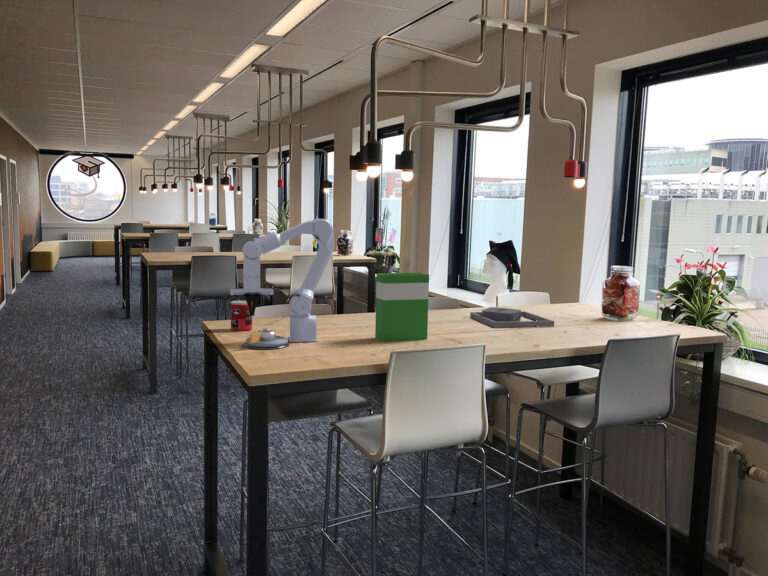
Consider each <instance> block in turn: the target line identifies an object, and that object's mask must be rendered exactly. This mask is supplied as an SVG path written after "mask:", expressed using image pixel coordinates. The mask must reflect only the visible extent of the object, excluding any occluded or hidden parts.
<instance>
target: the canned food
mask: <svg viewBox="0 0 768 576" xmlns="http://www.w3.org/2000/svg"><path fill="white" fill-rule="evenodd" d="M252 328H253V316H250V311H249V307H248V304H247V302H246V300H233V301H230V330H231V331H232V330H233V331H232V332H235V331H247V332H250V330H251V331H252V330H253V329H252Z"/></svg>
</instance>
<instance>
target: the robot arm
mask: <svg viewBox="0 0 768 576" xmlns="http://www.w3.org/2000/svg"><path fill="white" fill-rule="evenodd" d="M331 223H332V222H330V221H329V220H328V219H327V218H314V219H312V220H308V221H303V222H301V223H298V224H297V225H293V226H292V227H290V228H288V229H285V230H283V231H281V232H280V233H278V232H275V231H268V232H266V234H265V235H263V236H260V237H255V238H253V241H252V240H251V241H247V242H246V243H244V245H243V246H242V248H241V249H242V250H241V252H242V254H243V263H242V264H243V272H242V273H243V287H242V288H230V290H229V291H230V296H235V295H236V296H239V295H240V296H243V297H244V299H245V301H246V302H247V304H248V307H249V311H250V316H252V317H255V312H256V310H257V309H256V307H257V305H258V303H259V301H260V299H261V295H262V296H263V295H265V296H266V295H271V296H272V295H274V288H266V287H265V288H261V258H260V257H261V255H265V254H267V253H270V252H272V251H275V250H276V249H279V248H280V247H281V245H282V244H283V242H286V241H288V240H291V239H294V238H296V237H298V236H302V235H305V234H306V235H312V236H313V237H314V238H315V240H316V243H317V245H318V250H317V252H316V253H315V255H314V257H313V260H312V262H311V264H310V267H309V268H308V271H307V273H306V275H305V277H304V279H303V281H302V284H301V286H300V287H299V288H298V289H297V291H296V293H295V294H294V296H292V297H291V298H290V300H289V303H288V305H289V308H290V310H291V311H290V313H289V336H287V339H288V342H289V343H297V342H298V343H299V342H303V343H305V342H317V341H318V340H317V335H318V334H317V333H318V331H317V329H318V326H317V315H311V310H312V302H313V299H314V295H315V294H314V293H315V291H316V288H317V287H318V284H319V282H320V280H321V278H322V276H323V274H324V272H325V270H326V267H327V265H328V263H329V262H330V259H331V256H332V254H333V252H334V250H335V238H334V236H335V235H334V233H335V229H334V227H333V225H332V224H331Z"/></svg>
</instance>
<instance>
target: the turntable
mask: <svg viewBox="0 0 768 576" xmlns="http://www.w3.org/2000/svg"><path fill="white" fill-rule="evenodd" d="M288 342H289V339H288V337H285V336H280V335H276V340H273V341H260V333H259V332H258V331H257V332H254V333H249V337H248V338H246V340H245V343H246V344H247V345H249V346H254V347H277V346H283V345H286V344H288Z"/></svg>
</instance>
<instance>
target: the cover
mask: <svg viewBox="0 0 768 576" xmlns="http://www.w3.org/2000/svg"><path fill="white" fill-rule="evenodd" d="M257 332H259V333H260V341H273V340H276V336H277V332H276V330H273V329H271V328H268V327H267V328H263V329H260V330H258V331H257Z"/></svg>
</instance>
